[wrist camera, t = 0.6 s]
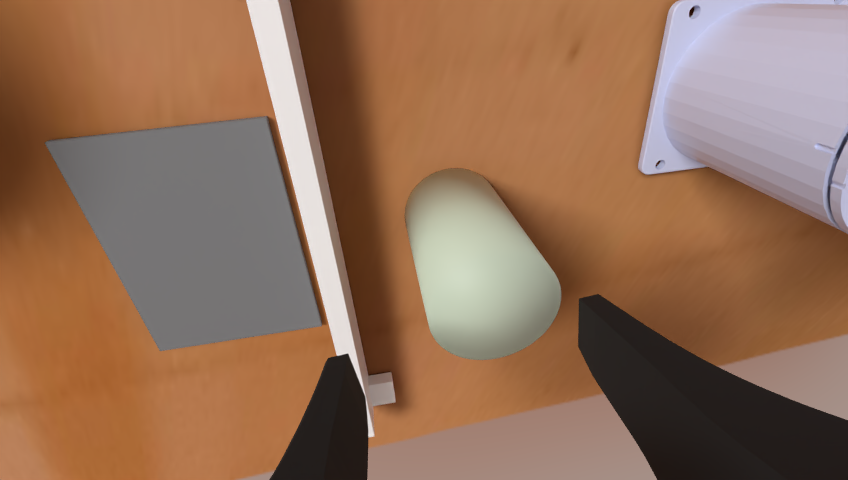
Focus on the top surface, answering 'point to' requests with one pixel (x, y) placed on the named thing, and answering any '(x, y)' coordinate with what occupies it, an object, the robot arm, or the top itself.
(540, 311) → the green cylinder
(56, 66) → the top surface
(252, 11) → the low wall
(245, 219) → the mat
